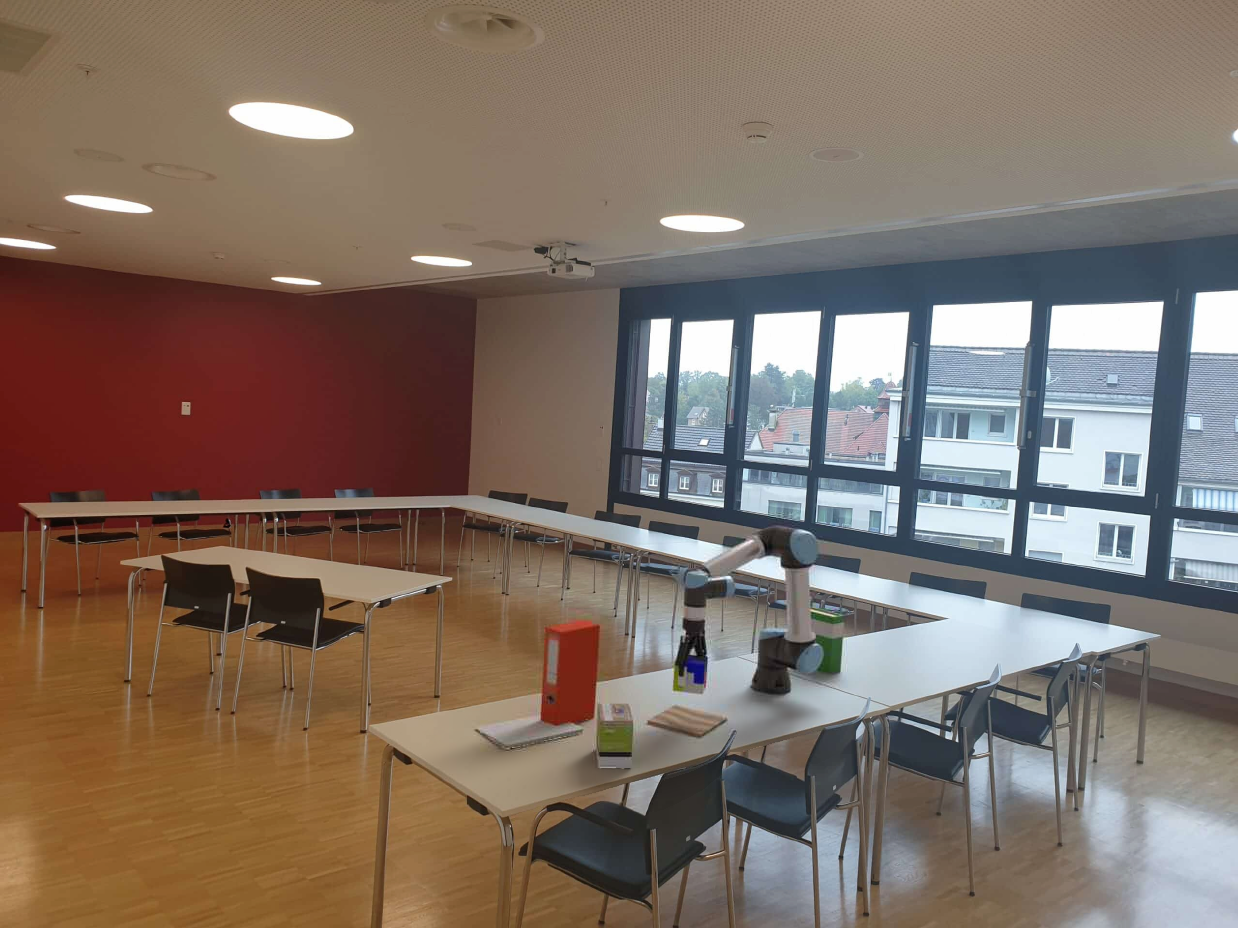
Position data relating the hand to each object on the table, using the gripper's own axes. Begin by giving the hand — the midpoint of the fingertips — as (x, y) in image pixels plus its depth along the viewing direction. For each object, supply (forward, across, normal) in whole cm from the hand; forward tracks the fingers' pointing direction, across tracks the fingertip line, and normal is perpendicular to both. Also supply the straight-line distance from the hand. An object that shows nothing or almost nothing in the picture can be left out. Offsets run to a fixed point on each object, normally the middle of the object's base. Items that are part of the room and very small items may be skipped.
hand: (690, 681), depth 297 cm
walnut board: (+14, 0, 0) cm, 14 cm away
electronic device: (+15, +41, -36) cm, 56 cm away
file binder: (+14, +25, -32) cm, 43 cm away
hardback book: (+14, -95, +13) cm, 97 cm away
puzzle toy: (+3, 0, 0) cm, 3 cm away
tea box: (+14, +43, -3) cm, 45 cm away
